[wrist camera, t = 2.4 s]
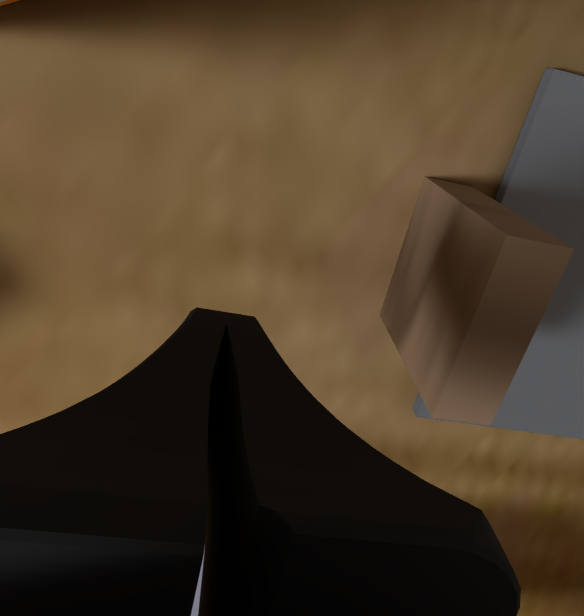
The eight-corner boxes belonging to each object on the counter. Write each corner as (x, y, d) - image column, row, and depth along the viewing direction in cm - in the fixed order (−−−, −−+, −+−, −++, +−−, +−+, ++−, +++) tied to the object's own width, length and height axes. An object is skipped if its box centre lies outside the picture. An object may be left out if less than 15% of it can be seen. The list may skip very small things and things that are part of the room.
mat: (580, 431, 26) (587, 439, 26) (412, 408, 25) (416, 416, 24) (756, 123, 20) (770, 125, 19) (545, 67, 18) (554, 68, 18)
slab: (423, 322, 23) (490, 425, 17) (379, 314, 22) (431, 417, 16) (473, 186, 20) (575, 248, 14) (425, 176, 20) (507, 235, 14)
